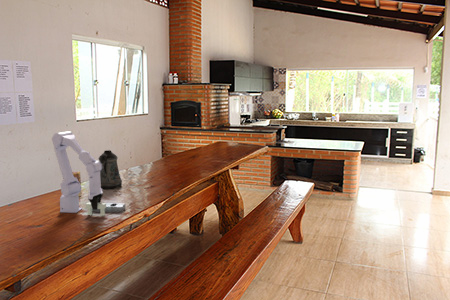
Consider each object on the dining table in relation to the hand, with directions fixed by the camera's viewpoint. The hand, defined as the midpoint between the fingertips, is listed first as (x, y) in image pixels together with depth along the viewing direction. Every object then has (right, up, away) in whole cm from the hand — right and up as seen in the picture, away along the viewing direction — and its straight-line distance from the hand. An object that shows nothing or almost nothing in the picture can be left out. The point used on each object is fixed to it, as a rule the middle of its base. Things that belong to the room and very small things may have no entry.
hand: (96, 208), depth 216 cm
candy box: (-26, +2, +36) cm, 44 cm away
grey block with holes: (+4, -2, +9) cm, 10 cm away
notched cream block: (0, -4, +1) cm, 4 cm away
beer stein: (-9, +6, +58) cm, 59 cm away
